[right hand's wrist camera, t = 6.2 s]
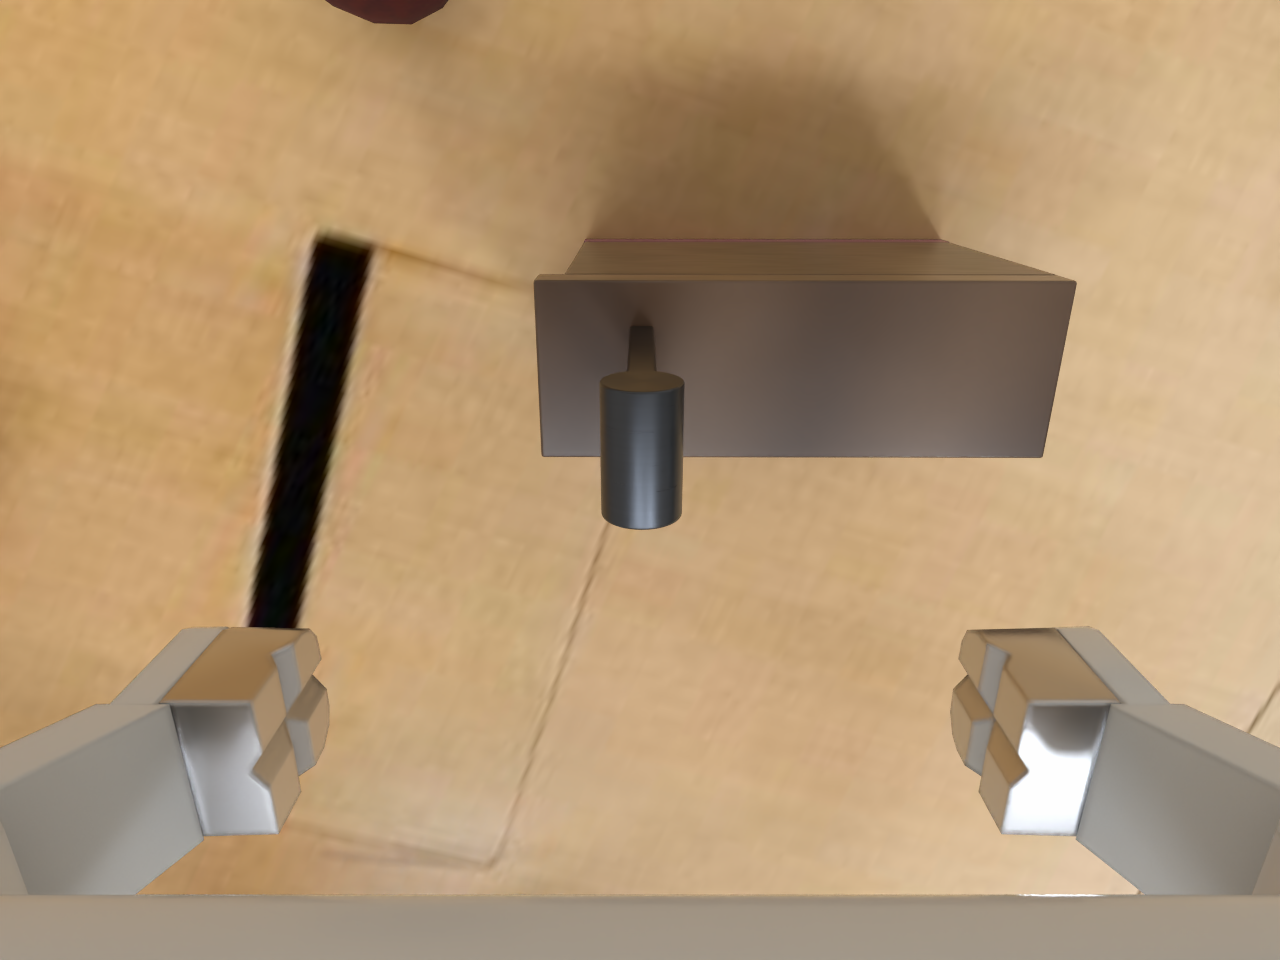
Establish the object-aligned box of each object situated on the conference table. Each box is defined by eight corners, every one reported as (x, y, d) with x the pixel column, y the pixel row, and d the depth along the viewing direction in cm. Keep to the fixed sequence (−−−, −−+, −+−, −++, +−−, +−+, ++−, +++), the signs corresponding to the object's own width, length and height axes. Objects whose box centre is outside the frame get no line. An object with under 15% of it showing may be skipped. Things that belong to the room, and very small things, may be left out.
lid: (545, 444, 26) (502, 576, 18) (538, 273, 24) (486, 336, 16) (1025, 445, 26) (1198, 577, 18) (1057, 274, 24) (1267, 337, 16)
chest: (588, 366, 36) (569, 444, 26) (585, 239, 34) (563, 273, 24) (924, 367, 36) (1025, 445, 26) (941, 239, 34) (1057, 274, 24)
